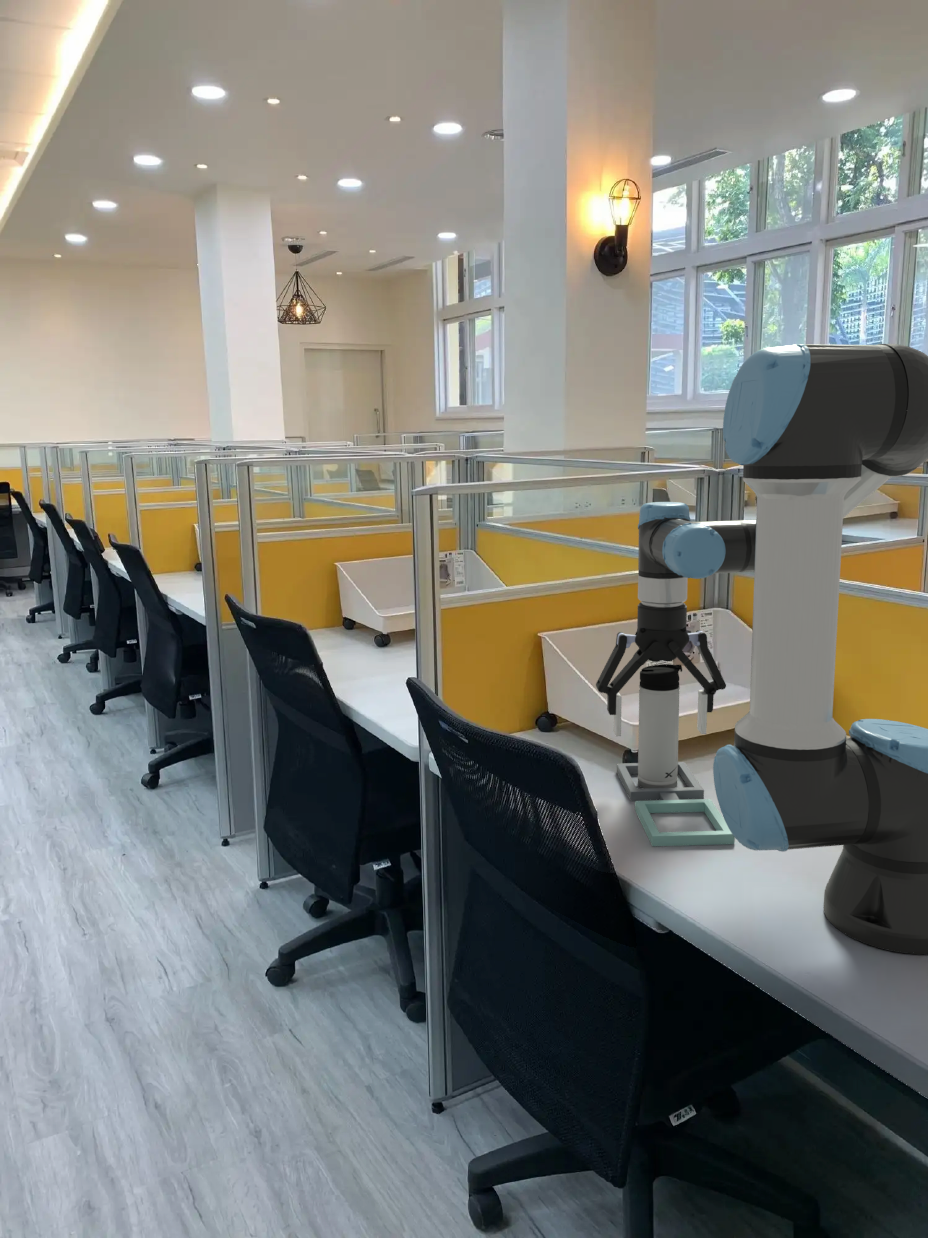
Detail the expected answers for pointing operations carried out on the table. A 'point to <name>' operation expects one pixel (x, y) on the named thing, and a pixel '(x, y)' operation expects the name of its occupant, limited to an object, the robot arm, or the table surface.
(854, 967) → the table surface
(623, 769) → the frame
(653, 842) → the frame
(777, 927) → the table surface
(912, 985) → the table surface
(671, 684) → the travel mug
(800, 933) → the table surface
